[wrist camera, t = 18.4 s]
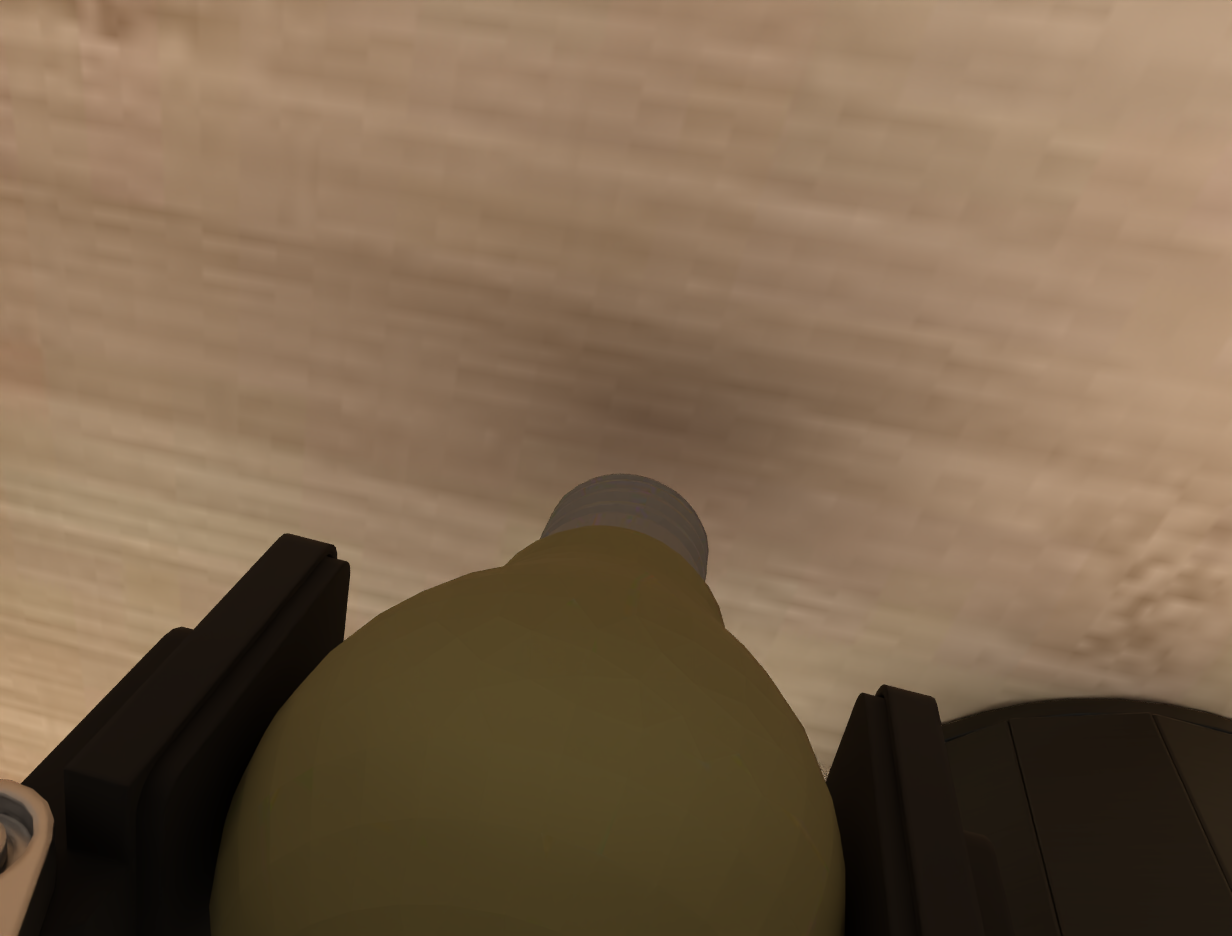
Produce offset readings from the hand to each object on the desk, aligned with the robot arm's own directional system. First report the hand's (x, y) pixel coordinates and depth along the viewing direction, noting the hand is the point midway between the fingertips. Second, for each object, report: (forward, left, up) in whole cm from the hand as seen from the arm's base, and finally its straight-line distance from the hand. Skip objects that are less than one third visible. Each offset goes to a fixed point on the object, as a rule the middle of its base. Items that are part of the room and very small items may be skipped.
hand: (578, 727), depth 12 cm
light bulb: (0, 0, -5) cm, 5 cm away
